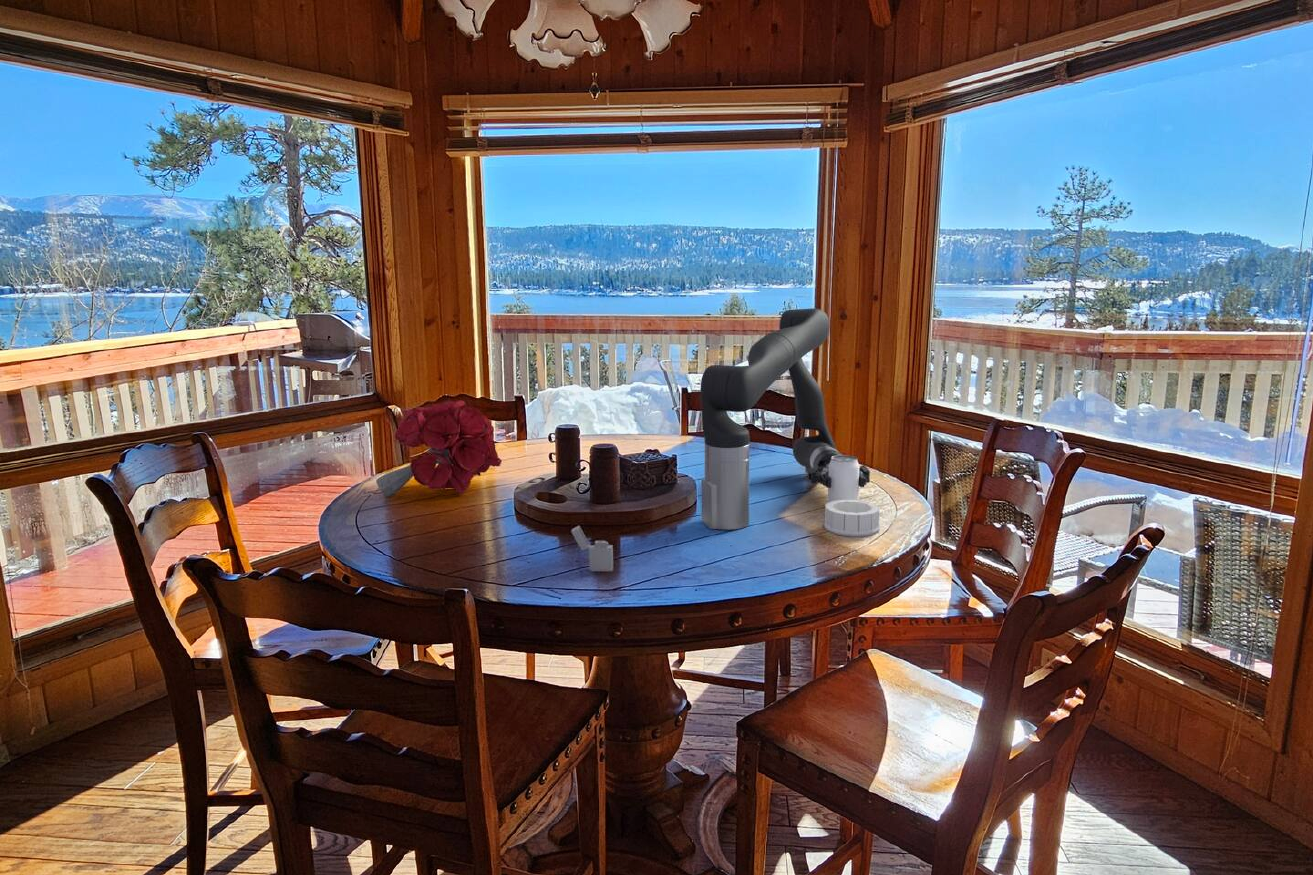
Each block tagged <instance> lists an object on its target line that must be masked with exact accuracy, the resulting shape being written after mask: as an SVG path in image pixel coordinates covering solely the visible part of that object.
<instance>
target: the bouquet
mask: <svg viewBox="0 0 1313 875" xmlns="http://www.w3.org/2000/svg"><path fill="white" fill-rule="evenodd" d="M397 427H398V428H397V429H396V432H395V436H394V438H395V440H397V441H396V443H397V444H399V445H400V446H407V447H410V448H419V447H423V445H425V447H429V449H428V450H427V451H426V452H422V455H419V456H417V458H413V459H411V462H410V463H409V465H407V466H403V467H402V468H399V469H398V468H397V469H395V470H392V471H391V472H388V473H385V474H383V475H381V476H380V477H378V478H377V479H376V480H375V481H376V485H377V486H378V487H377V488H379V490H380V492H381V493H382V494H383V495H384V496H385V497H387V498H390V497H392V496H393V495H395V494H396V493H398V492H399V491H400V490H401V489H403V488H404V487H405V485H406V484H408V482H409V481H410V480H411V479H412V478H414V480H415V481H416V482H417V483H418V484H420V485H422V487H423V486H424V487H428V488H429V489H430V490H440V489H441V488H442V490H443V489H444V490H446V489H445V488H454V489H453V490H455V492H456V493H457V494H458V495H459V494H461V495H460V496H462V495H463V493H464V491H466V490H467V489H468V488H469V487H470V485H471V482H472V480H473V478H475V476H478V477H481V476H482V475H481V474H483V473H487V472H488V470H489V468H490V467H496V468H497V467H500V466H501V464H502V459H501V458H500V457H499V455H498V452H497V451H496V442H495V439H494V438H495V435H494V432H495V429H494V428H495V427H494V426H493V425H492V422H491V420H490V419H489V418H488V417H487V416H485V414H483V413H482V412H481V410H479V409H478V408H476V407H475V406H473V405H467V403H466V401H464V400H458V401H455V400H447V401H443V402H441V403H432V404H431V406H429V405H428V406H426V407H425V406H423V407H422V406H421V407H420V406H419V407H418V406H417V407H412V408H411V409H409V410H407V411H406V412H405V413H404V414H403V417H402V418H400V420H399V422H398V426H397ZM423 454H424V455H423ZM391 495H392V496H391ZM389 496H390V497H389Z"/></svg>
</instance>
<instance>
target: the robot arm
mask: <svg viewBox="0 0 1313 875" xmlns="http://www.w3.org/2000/svg"><path fill="white" fill-rule="evenodd" d="M778 328H779V329H777V330H773V331H771V332H770V333H767V334H765V335H764V336H763V337H762V338H760V339H759V340H757V341H756V342H755V343H754V344H752V346H751V348H750V350H749V351H748V355H747V364H748V365H742V366H741V365H726V364H724V365H723V364H722V365H721V364H713V365H709V366H708V367H707V368H705V370H704V372H703V373H702V376H701V381H700V392H699V393H700V407H701V408H700V409H701V426H702V432H703V437H704V476H703V477H701V522H702V523H703V524H705V525H706V527H708V528H709V529H710V530H727V531H729V530H738V529H739V530H740V529H743V528H745V527H748V525H749V524H750V443H751V441H750V431H749V430H748V429H747V428H746V427H745V426H743V425H741V424H739V423H738V422H735V421H734V420H733V419H732V418H731V417H730V416H729V414H728V412H735V413H741V412H747V411H749V410H751V409H752V408H753V407H754V406H755V405H756V404H757V402H759V400H760V399H761V397H762V396H763V395H764V394H765V393H766V391H767V390H768V389H769V388H770V387H771V386H772V385H773V384H774V383H775V381H777V380H778V379H779V378H780V377H781V376H782V375H784V374H786V372H788V373H789V377H790V381H791V385H792V390H793V395H794V396H793V397H794V402H795V403H794V405H795V414H796V421H797V425H798V427H799V428H800V429H803V430H808V431H809V430H811V431H817V432H818V434H814V435H810V436H803V437H799V438H797V439H796V440H795V441H794V442H793V445H792V454H793V457H794V459H795V460H796V462H797V463H798V464H799V465H800V466H802V467H805V468H804V470H805V471H804V472H805V475H804V477H805V479H806V480H807V481H808V482H810V484H813V485H816V484H817V483H818V482H819V485H822V486H824V487H826V488H827V489H828V488H831V478H830V477H829V476H828V475H829V463H830V461H831V457H832V456H837V455H842V453H840V452H839V451H838V450H837V448H836V444H835V442H834V439H833V437H832V435H831V433H830V430H829V427H828V423H827V420H826V412H825V403H824V401H825V400H824V395H823V392H822V389H821V387H820V385H819V383H818V382H817V381H816V379H815V377H813V375H812V374H811V372H810V371H809V370H808V368H807V366H806V364H805V363H804V361H803V360H804V359H803V357H805V356H806V355H807V354H809V353H810V352H812V351H814V350H816V349H818V347H819V348H820V347H821V346H822V345H823V344H824V343H825V341H826V340H827V338H828V337H829V334H830V328H831V327H830V320H829V317H828V315H827V313H826V312H825V311H824V310H822V309H819V308H813V307H812V308H799V309H798V308H797V309H788V310H785V311H784V312H783V313H782V314H781V316H780V320H779V327H778ZM870 475H871V471H870V470H869V468H868V467H867V466H866V465H865V464H864V465H859V487H860V488H865V486H866V485H867V484H870V481H871V480H870V477H871V476H870Z"/></svg>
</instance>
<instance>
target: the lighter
mask: <svg viewBox="0 0 1313 875" xmlns="http://www.w3.org/2000/svg"><path fill="white" fill-rule="evenodd" d="M570 532H571V534H572V536H573V537H574V539H575V541H576V543H577V545H578V546H579V548H580V550H581V551H582V552H583V551H586V550H588V563H589V564H588V565H589V567H588V568H589V571H590V570H591V571H590V572H613V571H614V548H613V546H614V545H612V544H609V542H608V541H606V540H595V541H594V544H593V545H591V544H590V543H589V541H588V539H587V537H586V535H585V534H584V531H583V530H582V528H581V526H580V525H577V526H575V527H574V528H572V529H571V531H570Z"/></svg>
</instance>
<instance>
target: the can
mask: <svg viewBox="0 0 1313 875" xmlns="http://www.w3.org/2000/svg"><path fill="white" fill-rule="evenodd" d="M859 467H860V464H859V462H858V457H857V456H853V455H848V454H847V455H846V454H841V455H837V456H832V457H831V461H830V463H829V475H828V476H829V477H830V478H831V488H827V503H829V502H831V501H836V500H859V491H860V490H859V487H860V486H859Z"/></svg>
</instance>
